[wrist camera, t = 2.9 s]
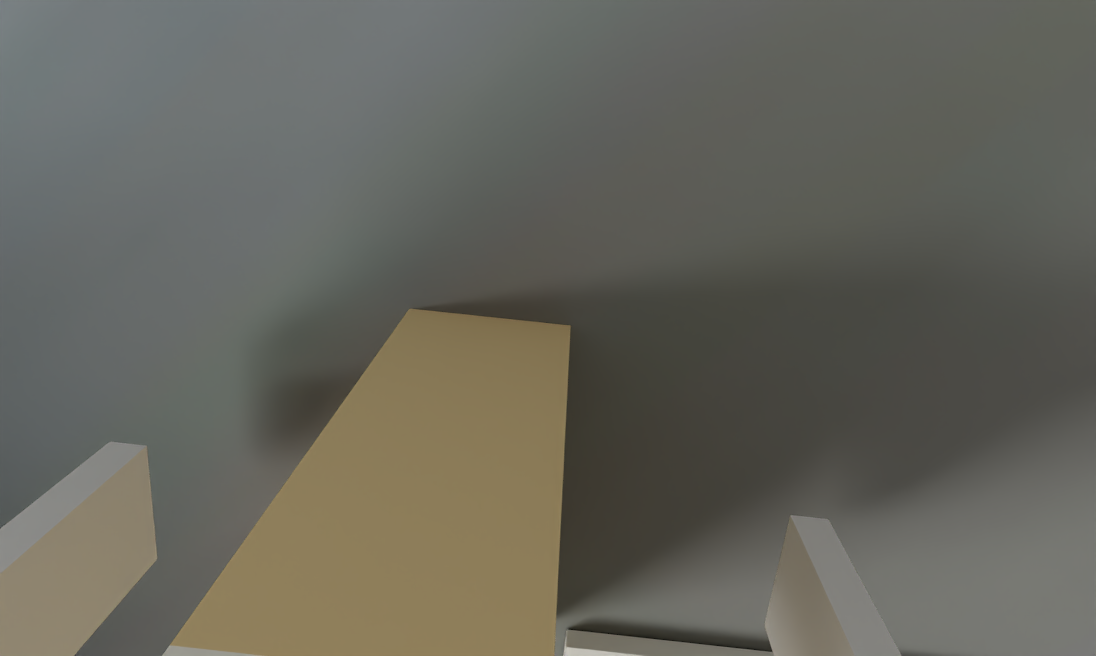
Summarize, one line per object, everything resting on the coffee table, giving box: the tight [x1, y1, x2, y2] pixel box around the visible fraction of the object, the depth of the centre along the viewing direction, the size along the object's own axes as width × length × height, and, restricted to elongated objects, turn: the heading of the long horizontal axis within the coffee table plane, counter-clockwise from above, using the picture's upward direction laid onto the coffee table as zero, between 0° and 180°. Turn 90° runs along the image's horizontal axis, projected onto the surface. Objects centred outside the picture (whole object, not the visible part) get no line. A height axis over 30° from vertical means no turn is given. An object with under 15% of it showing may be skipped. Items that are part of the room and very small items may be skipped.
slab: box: [162, 309, 571, 656], centre depth 12 cm, size 4×8×11 cm, turn 175°
